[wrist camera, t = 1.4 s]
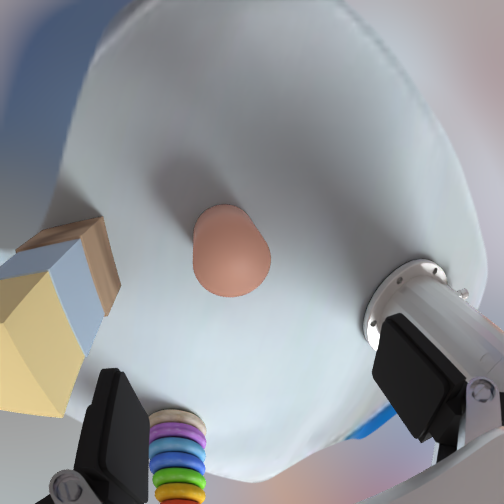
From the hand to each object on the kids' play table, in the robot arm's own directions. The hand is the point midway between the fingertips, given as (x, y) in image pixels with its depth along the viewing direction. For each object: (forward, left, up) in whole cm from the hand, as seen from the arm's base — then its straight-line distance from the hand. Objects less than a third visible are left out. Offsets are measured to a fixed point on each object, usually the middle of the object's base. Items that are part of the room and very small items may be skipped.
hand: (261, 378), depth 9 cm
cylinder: (0, 0, -16) cm, 16 cm away
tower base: (+13, 0, -16) cm, 21 cm away
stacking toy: (+10, +24, -16) cm, 31 cm away
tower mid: (+13, 0, -11) cm, 17 cm away
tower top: (+13, 0, -6) cm, 14 cm away
